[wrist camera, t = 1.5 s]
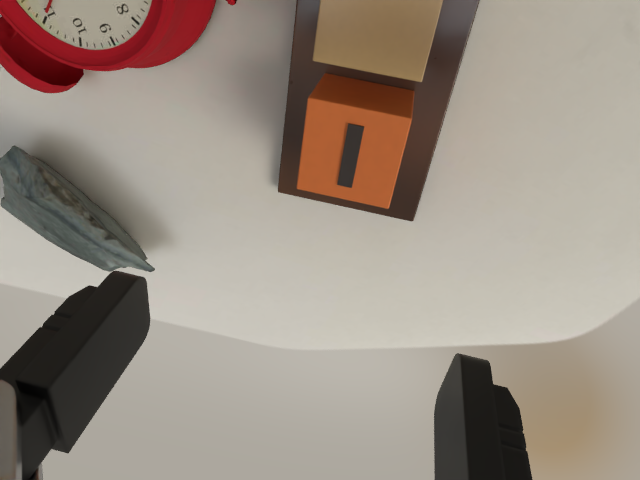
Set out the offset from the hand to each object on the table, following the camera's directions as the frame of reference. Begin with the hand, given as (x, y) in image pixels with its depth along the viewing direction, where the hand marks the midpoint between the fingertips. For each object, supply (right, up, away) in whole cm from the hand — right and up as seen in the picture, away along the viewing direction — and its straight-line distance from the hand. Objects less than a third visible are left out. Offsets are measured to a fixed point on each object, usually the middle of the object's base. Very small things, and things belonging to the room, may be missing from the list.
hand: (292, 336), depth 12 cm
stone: (-15, +5, +20) cm, 26 cm away
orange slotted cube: (+3, +8, +12) cm, 15 cm away
